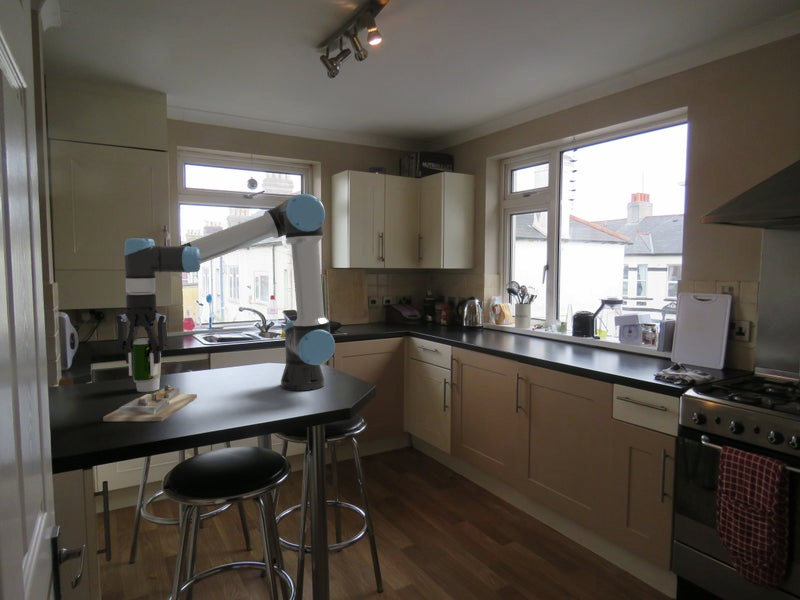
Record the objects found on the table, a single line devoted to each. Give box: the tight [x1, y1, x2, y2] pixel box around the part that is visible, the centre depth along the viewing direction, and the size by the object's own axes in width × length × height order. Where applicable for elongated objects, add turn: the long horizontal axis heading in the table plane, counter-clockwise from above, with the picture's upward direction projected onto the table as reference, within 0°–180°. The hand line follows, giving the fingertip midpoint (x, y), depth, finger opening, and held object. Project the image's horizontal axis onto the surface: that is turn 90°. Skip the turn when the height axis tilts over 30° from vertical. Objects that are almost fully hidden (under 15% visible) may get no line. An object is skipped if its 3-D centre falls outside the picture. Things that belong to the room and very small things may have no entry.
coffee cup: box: [135, 351, 162, 393], centre depth 173 cm, size 9×9×15 cm
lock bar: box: [156, 384, 176, 401], centre depth 158 cm, size 2×8×3 cm, turn 0°
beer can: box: [132, 337, 154, 383], centre depth 144 cm, size 5×5×12 cm
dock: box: [102, 387, 198, 422], centre depth 150 cm, size 16×24×3 cm, turn 0°
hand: (143, 374), depth 144 cm, fingers closed on beer can, 5 cm apart
